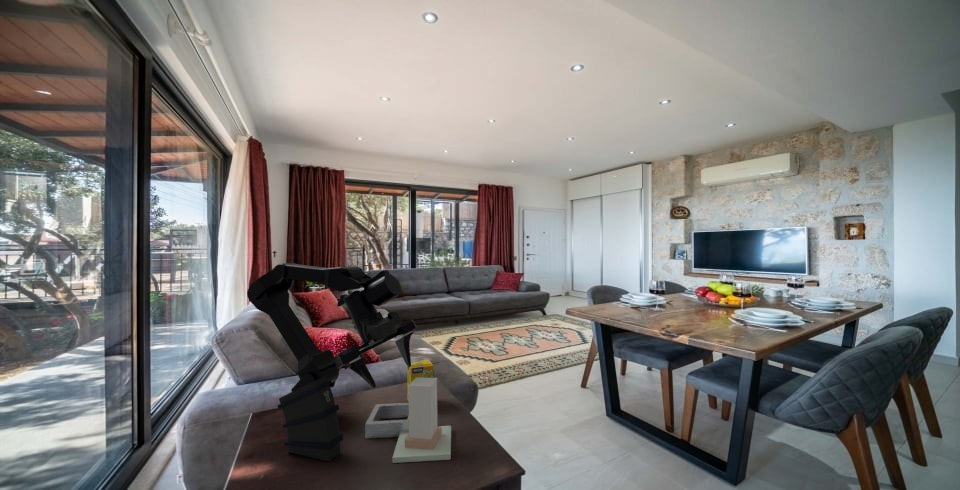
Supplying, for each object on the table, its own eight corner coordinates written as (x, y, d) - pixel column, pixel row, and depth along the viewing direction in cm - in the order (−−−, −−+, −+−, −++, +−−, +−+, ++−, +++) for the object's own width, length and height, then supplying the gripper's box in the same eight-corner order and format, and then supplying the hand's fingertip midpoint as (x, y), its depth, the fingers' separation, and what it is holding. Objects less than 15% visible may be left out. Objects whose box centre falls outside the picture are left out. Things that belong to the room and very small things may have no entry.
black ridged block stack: (341, 457, 64) (314, 381, 66) (293, 476, 67) (269, 402, 70) (355, 446, 67) (329, 374, 70) (308, 464, 71) (285, 395, 73)
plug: (404, 447, 68) (404, 386, 68) (414, 431, 74) (414, 376, 74) (433, 449, 67) (432, 387, 67) (441, 433, 73) (440, 377, 73)
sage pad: (392, 463, 64) (392, 457, 64) (401, 432, 75) (401, 428, 75) (450, 459, 65) (450, 454, 65) (451, 430, 76) (451, 425, 76)
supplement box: (411, 411, 86) (410, 368, 86) (407, 402, 91) (406, 361, 92) (434, 407, 88) (433, 364, 88) (429, 398, 93) (428, 358, 94)
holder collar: (365, 438, 73) (365, 424, 73) (375, 416, 83) (375, 404, 83) (412, 435, 74) (411, 421, 74) (417, 414, 84) (416, 402, 84)
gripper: (333, 322, 68) (366, 395, 65) (411, 290, 80) (441, 351, 78) (322, 335, 76) (350, 400, 73) (394, 304, 88) (420, 359, 86)
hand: (393, 376), depth 77 cm, fingers open, 9 cm apart
